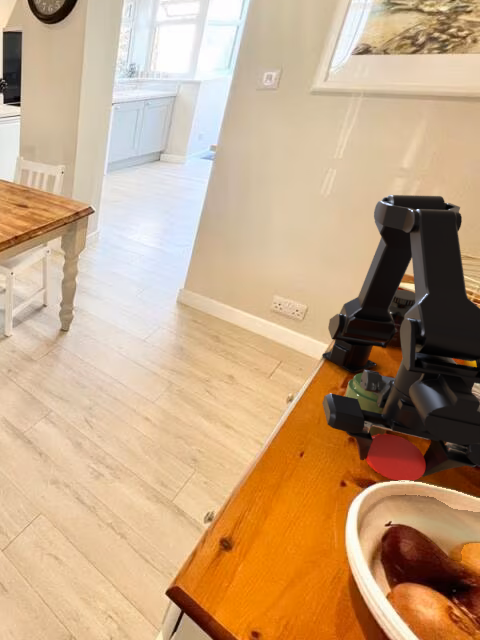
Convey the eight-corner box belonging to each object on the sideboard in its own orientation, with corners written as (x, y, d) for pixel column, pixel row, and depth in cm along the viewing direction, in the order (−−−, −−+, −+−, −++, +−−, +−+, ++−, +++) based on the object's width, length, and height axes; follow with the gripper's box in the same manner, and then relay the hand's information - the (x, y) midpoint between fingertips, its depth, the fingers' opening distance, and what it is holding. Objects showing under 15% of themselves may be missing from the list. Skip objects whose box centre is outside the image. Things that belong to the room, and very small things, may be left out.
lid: (373, 480, 65) (377, 481, 63) (354, 434, 67) (358, 434, 66) (429, 481, 62) (436, 482, 60) (408, 433, 65) (413, 433, 63)
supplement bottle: (380, 328, 96) (395, 284, 91) (418, 343, 90) (437, 296, 85) (362, 336, 94) (376, 292, 89) (400, 352, 88) (417, 305, 83)
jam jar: (353, 406, 77) (367, 367, 73) (395, 431, 71) (412, 389, 67) (328, 417, 75) (341, 376, 72) (368, 443, 70) (384, 400, 66)
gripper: (491, 373, 60) (454, 448, 66) (327, 345, 69) (308, 413, 75) (533, 427, 51) (486, 507, 57) (340, 386, 61) (317, 459, 67)
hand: (389, 465), depth 65 cm, fingers closed on lid, 6 cm apart
